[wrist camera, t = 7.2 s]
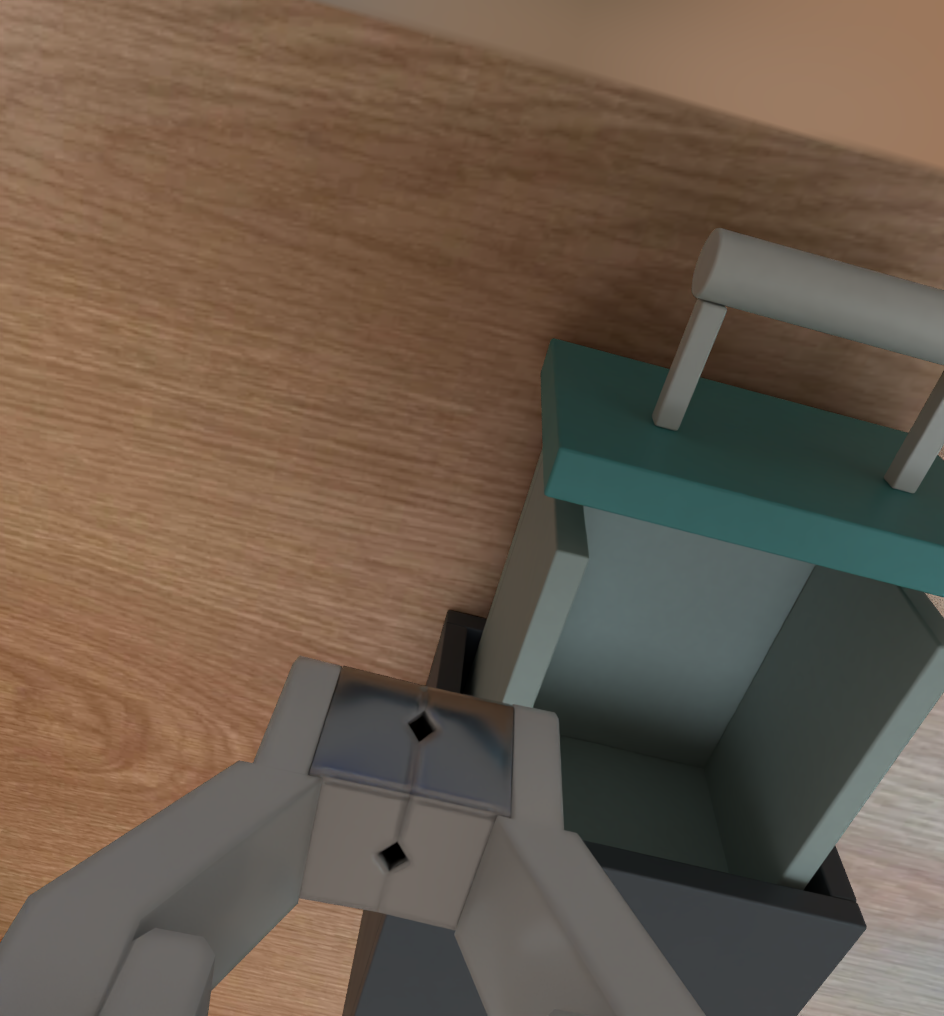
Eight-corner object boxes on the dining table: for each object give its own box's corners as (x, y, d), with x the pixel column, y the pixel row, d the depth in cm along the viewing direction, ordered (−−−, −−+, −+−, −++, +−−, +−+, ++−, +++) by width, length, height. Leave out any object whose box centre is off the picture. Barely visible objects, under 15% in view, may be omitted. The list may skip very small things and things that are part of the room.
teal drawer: (601, 173, 21) (634, 223, 14) (1003, 286, 22) (1215, 384, 15) (439, 701, 30) (413, 884, 24) (727, 769, 31) (782, 966, 24)
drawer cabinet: (448, 608, 29) (414, 825, 21) (775, 688, 30) (868, 928, 22) (369, 876, 37) (321, 1115, 28) (633, 935, 38) (662, 1184, 29)
